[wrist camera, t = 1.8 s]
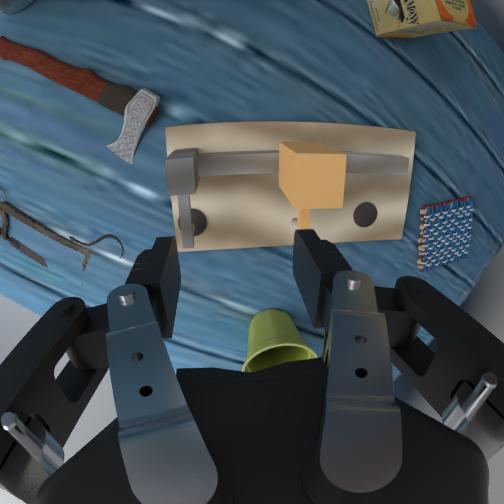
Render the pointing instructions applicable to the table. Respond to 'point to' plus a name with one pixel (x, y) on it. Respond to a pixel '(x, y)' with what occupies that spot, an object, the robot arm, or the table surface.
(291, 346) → the plant pot
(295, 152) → the block
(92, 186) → the table surface
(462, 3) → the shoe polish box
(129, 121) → the hand axe
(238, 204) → the board
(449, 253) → the woven mat
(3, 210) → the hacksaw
